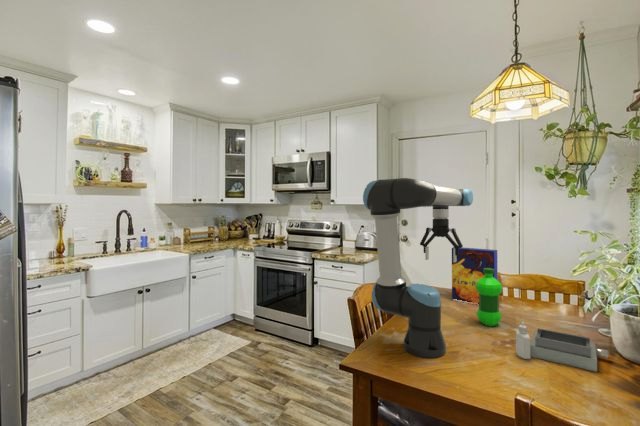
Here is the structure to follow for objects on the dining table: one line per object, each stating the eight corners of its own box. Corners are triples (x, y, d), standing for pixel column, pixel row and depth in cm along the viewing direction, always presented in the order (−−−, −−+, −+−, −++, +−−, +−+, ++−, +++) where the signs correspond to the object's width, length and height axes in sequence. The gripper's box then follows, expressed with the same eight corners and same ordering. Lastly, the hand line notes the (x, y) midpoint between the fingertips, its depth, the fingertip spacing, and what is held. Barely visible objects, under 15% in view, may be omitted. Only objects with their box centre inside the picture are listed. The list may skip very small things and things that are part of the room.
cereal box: (452, 300, 182) (451, 247, 182) (455, 298, 187) (455, 246, 186) (494, 308, 167) (494, 250, 167) (497, 305, 172) (497, 249, 171)
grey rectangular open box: (611, 375, 100) (611, 353, 100) (530, 356, 114) (529, 336, 114) (607, 356, 113) (607, 336, 113) (534, 341, 126) (534, 323, 126)
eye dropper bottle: (515, 357, 113) (515, 323, 113) (516, 351, 118) (515, 319, 118) (530, 360, 111) (530, 326, 111) (530, 354, 115) (530, 321, 115)
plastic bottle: (473, 324, 145) (472, 269, 145) (481, 318, 153) (480, 265, 152) (497, 330, 138) (497, 272, 138) (504, 323, 146) (504, 268, 145)
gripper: (469, 218, 156) (469, 262, 156) (418, 217, 171) (418, 257, 171) (465, 218, 150) (465, 264, 150) (413, 218, 165) (413, 259, 165)
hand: (440, 260), depth 161 cm, fingers open, 13 cm apart
